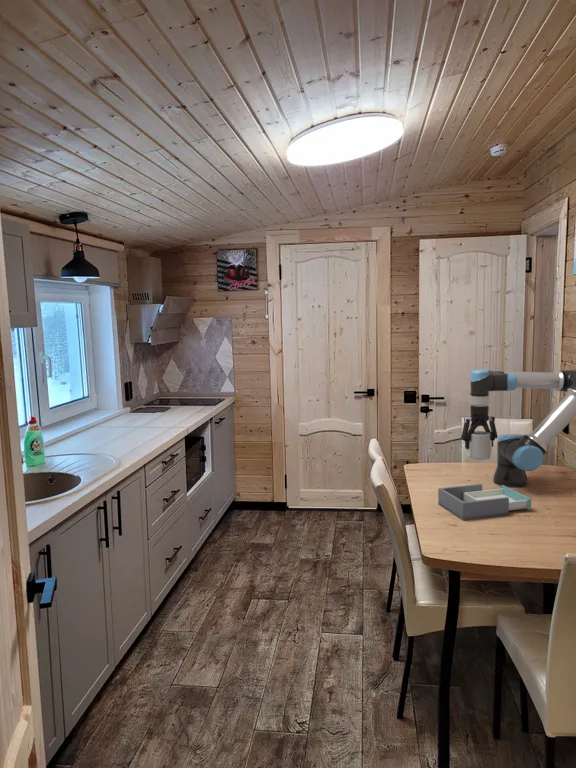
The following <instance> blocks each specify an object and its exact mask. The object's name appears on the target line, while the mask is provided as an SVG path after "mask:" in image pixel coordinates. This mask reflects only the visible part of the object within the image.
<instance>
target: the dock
mask: <svg viewBox="0 0 576 768" xmlns="http://www.w3.org/2000/svg"><path fill="white" fill-rule="evenodd" d="M482 490H483V484H482V483H477V484H476V483H475V484H466V485H458V486H457V485H456V486H447V487H440V488H438V490H437V491H438V499H437V501H438V502H437V504H438V506H440V507H441V508H443V509H444V510H446V511H447V512H449V513H451V514H452V515H454V516H455V517H457V518H459V519H460V520H461V521H471V520H477V519H487V518H496V517H504V516H509V514H510V513H509V512H510V510H509V498H508V497H503V498H495V499H486V500H477V501H469V502H465V501H464V500H463V493H464V492H473V491H482Z"/></svg>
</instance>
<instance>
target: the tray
mask: <svg viewBox="0 0 576 768" xmlns="http://www.w3.org/2000/svg"><path fill="white" fill-rule="evenodd" d="M503 497H508V498H509V511H516V510H525V509H527V510H531V509H532V498H531V497H529V496H527V495H526V494H523V493H521V492H518V491H516V490H514V489H512V488H511V487H507V486H504V485H500V488H493V489H484V490H483V489H482V491H473V492H464V493H463V500H464V501H465V502H469V501H477V500H486V499H495V498H503Z"/></svg>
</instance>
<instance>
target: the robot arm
mask: <svg viewBox="0 0 576 768" xmlns="http://www.w3.org/2000/svg"><path fill="white" fill-rule="evenodd" d="M470 372H471V373H470V380H469V381H470V417H464V419H463V428H462V431H461V437H460V440H462V441H463V442H464V448H465V449H466V457H467V456H468V457H469V458H470V457H471V442H470V440H471V434H473V433H474V431H476V429H477V428H478V427H482V428H483V430H484V432H489V433H490V456H492V455H493V453H492V451H493V449H492V448H493V447H494V441H495V440H496V439H497V441H496V442H497V447H496V448H497V449H496V450H497V465H496V466H497V467H496V469H495V472H494V475H493V483H494V484H496V485H498V486H501V485H504V486H506V487H508V488H520V487H521V488H522V487H525V486H527V485H529V482H528V481H529V479H528V476H527V473H526V472H533V471H536V470H537V469H539V468H540V467H541V466H542V464H543V462H544V456H545V455H546V454H547V452H548V450H547V447H548V446H549V445H550V444H551V442H553V441H554V440H555V439H556V437H557V436H558V435H559V434H561V432H562V431H563V430H564V429H565V428H566V427H567V426H568V425H569V424H570V423H571V422H572V421H573V419H575V418H576V369H568V370H560V369H559V370H556V371H555V372H543V371H542V372H541V371H538V372H537V371H500V370H499V371H497V370H496V371H495V370H490V369H489V370H488V369H474V370H471V371H470ZM516 389H539V390H540V389H542V390H543V389H547V390H549V389H550V390H551V389H552V390H555V391H556V392H565V393H567V395H565V396H564V397H563V399H561V401H560V402H559V403H558V404H557V405H556V406H555V407H554V408H553V409H552V410H551V411H550V412H549V413H548V414H547V416H546V417H544V418H543V420H542V421H541V422H540V423H539V424H538V425H537V426H536V427H535V428H534V429H533V430H532V431H531V433H525V434H524V435H523V434H519V433H518V434H517V433H511V434H509V433H508V434H500V435H498V431H497V427H496V423H495V421H496V417H495V416H492V415H490V416H489V410H490V408H489V403H490V402H489V400H490V399H489V398H490V397H489V395H490V394H489V393H490V392H509V391H515V390H516ZM470 423H471V424H470ZM488 423H489V424H488Z"/></svg>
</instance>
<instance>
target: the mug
mask: <svg viewBox="0 0 576 768" xmlns="http://www.w3.org/2000/svg"><path fill="white" fill-rule="evenodd" d="M470 442H471V457H469V458H470V459H472V460H477V461H478V460H480V461H482V460H490V459H491V455H490V433H489V432H485V430H484V431H482V430H475V431H474V433H473V434H471V440H470Z"/></svg>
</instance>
